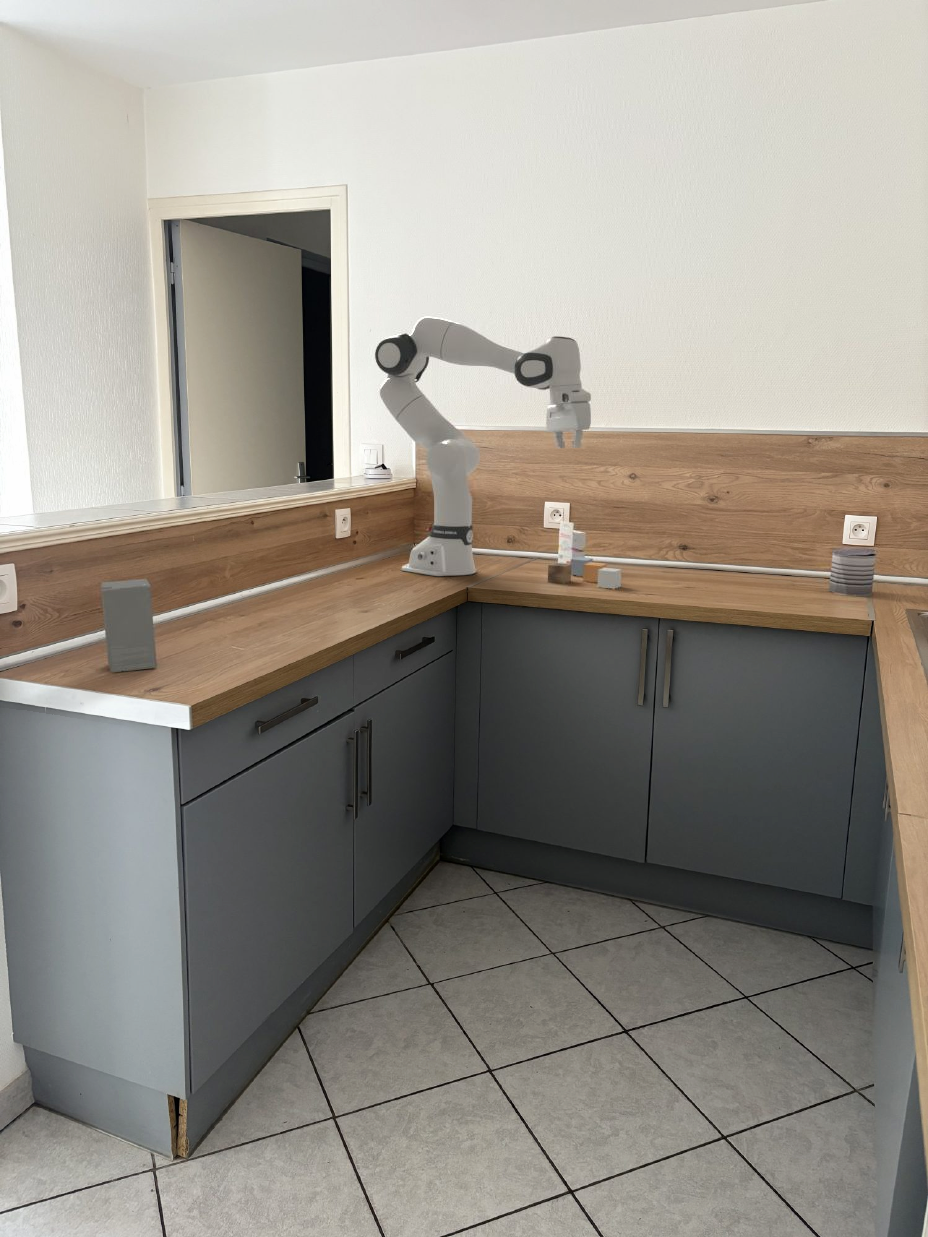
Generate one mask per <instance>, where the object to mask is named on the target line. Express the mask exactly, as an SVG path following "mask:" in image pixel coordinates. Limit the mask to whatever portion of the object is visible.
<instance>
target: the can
mask: <svg viewBox="0 0 928 1237" xmlns="http://www.w3.org/2000/svg"><path fill="white" fill-rule="evenodd" d="M877 554H878V550H876V549H872V548H863V547H860V548H859V547H857V548H856V547H854V548H852V547H851V548H849V547H847V548H839V549H835V550H832V557H831V558H832V559H831V565H830V567H831V568H830V577H829V578H830V579H829V585H828V591H829V590H830V591H833V592H835V593H841V594H845V595H856V596H855V597H860V596H861V597H869V596H871V595H872V594H873V588H874V587H873V586H874V576H875V568H876V559H877ZM845 595H844V596H845Z"/></svg>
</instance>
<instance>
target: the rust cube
mask: <svg viewBox="0 0 928 1237" xmlns="http://www.w3.org/2000/svg"><path fill="white" fill-rule="evenodd" d="M607 566H608V565H607V563H601V562H594V561H593V562H589V563H587V564H584V574H583V577H582V578H583V580H582V581H583V582H585V581H588V583H594V582H598V570H600V569H602V568H608V567H607Z"/></svg>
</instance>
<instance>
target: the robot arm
mask: <svg viewBox="0 0 928 1237" xmlns="http://www.w3.org/2000/svg"><path fill="white" fill-rule="evenodd" d="M375 348H376V349H375V351H374V352H375V353H374V359H375V362H376V364H377V366H378V368H379V369H380V370H381V371H382V372H384V373H386V374H387V378H386V379H385V380H384V381H383V383H382V384H381V386H380V388H379V396H380V398H381V400H382V402H383V404H384V405H385V408H386V409H387V410H388V411H389V413H390V414H391V415H392V417H393V418H394V420H395V421H396V422H397V423H398V424H399V426H400V427H401V428H402V430H404V431H405V432H406V433H407V435H408V436H409V437H410V438H411V440H412V441H413V442H415V443H416V444H417V445H419V446H420V447H422V448H423V449H424V450H425V451H427V453H426V456H425V464H426V466H427V467H426V468H427V469H428V471H429V474H430V479H431V480H430V481H431V485H432V490H433V491H432V492H433V499H434V501H433V502H434V506H433V507H434V508H433V509H434V511H433V513H434V515H433V516H434V517H433V521H434V523H433V524H432V525H430V526H426V530H425V531H426V532H428V531H429V534H428V537H426V538H425V539H423V540H422V541H420V543H418V544H417V545H416V546H414V547H413V548H412V549H411V551H410V554H409V558H408V559H409V560H408V563H406V564H404V565H402V566H401V571H405V572H410V573H415V574H422V575H426V576H427V575H428V576H433V577H444V576H445V577H446V576H467V575H472V574H475V573H477V571H476V566H475V561H474V557H473V556H474V555H473V547H472V546H473V545H472V544H473V539H474V537H473V536H474V527H473V524H472V520H473V519H472V517H473V516H472V514H473V507H472V506H473V498H472V497H473V496H472V495H471V492H470V488H469V482H468V475H470V474H471V473H473V472H474V471H475V470H476V469H477V467H478V466H479V464H480V460H481V454H480V451H479V448H478V447H477V446H476V444H475V443H473V442H472V441H470V440H469V438H468V437H466V436H465V435H464V434H463V433H462V432H461V431H460V430H459V429H458V428H457V427H456V426H454V425H453V424H452V423H451V422H450V421H449V420H448V419H447V418H445V416H443V415H442V413H441V412H440V411H439V410H438V409H437V408H436V407H435V406H434V404H433V403H432V402H431V401H430V400H429V399H428V398H427V396H426V395H425V394H424V393H423V391H421V389H420V388H419V387H418V385H417V384H416V383H417V382H419V381H420V380H421V378H422V375H423V374H424V372H425V371H426V369H427V367H428V365H429V361H430V358H435V359H437V360H440V361H443V362H446V363H450V364H454V365H459V366H469V367H488V368H489V367H490V368H495V369H497V370H502V371H504V372H508V373H510V374H513V375H514V376H515V379H516V381H517V382H518V383H519V384H521V385H522V386H524V387H526V388H532V389H537V390H540V391H542V390H543V391H545V390H549V401H550V402H549V404H548V406H547V408H546V412H545V413H546V415H545V422H546V423H545V426H546V432H548V433H553V437H554V439H555V442H556V448H557V449H564V448H565V446H566V444H565V441H564V438H563V435H564V432H570V431H571V432H573V435H574V436H573V441H571V442H572V444H571V445H572V447H573V449H574V448H576V449H577V448H581V445H582V443H581V441H582V437H583V431H585V430H589V429H590V427H591V425H592V420H591V418H592V415H591V414H592V413H591V412H592V411H591V404H590V403H589V402H590V401H592V400H591V399H592V397H591V396H592V394H591V393H590V392H589V391H587V390H585V389H584V388H583V386H582V385H583V384H582V381H581V378H580V376H581V369H582V364H581V356H580V355H581V354H580V348H579V345H578V342H577V341H576V340H575V339H574V338H572V337H567V336H566V337H565V336H559V335H558V336H556V335H555V336H551V337H550V338H548V340H546V341H545V342H544V343H543V344H541V345H540V346H538V347H537V348H535V349H532V350H530V351H527V352H521V351H518V350H515V349H511V348H508V347H505V346H502V345H501V344H498V343H496V342H494V341H492V340H491V339H488V338H487V337H485V336H484V335H482V334H480V333H479V332H478V331H475V330H474V329H472V328H470V327H468V326H466V325H464V324H461V323H458V322H455V321H452V320H449V319H444V318H439V317H432V316H424V317H421V318H420V319H419V320H417V322H416V323H415V325H414V327H413V329H412V332H411V334H408V333H405V332H403V333H400V334H397V335H393V336H389V337H386V338H384V339H382V340H381V341H380V342H379V343H378V344H377V346H376V347H375Z"/></svg>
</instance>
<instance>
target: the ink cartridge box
mask: <svg viewBox="0 0 928 1237" xmlns="http://www.w3.org/2000/svg"><path fill="white" fill-rule="evenodd" d="M567 526H568V527H567ZM574 527H575V523H574V522H570V521H565V520H560V523H559V531H558V533H559V534H558V552H557V553H558V555H557V563H564V564H571V559H573V558H576V557H582V558H586V557H585V556H586V540H587V539H586V538H587V536H586V535H587V533H586V532H584V531H583V532H582V531H579V530H574Z"/></svg>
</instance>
